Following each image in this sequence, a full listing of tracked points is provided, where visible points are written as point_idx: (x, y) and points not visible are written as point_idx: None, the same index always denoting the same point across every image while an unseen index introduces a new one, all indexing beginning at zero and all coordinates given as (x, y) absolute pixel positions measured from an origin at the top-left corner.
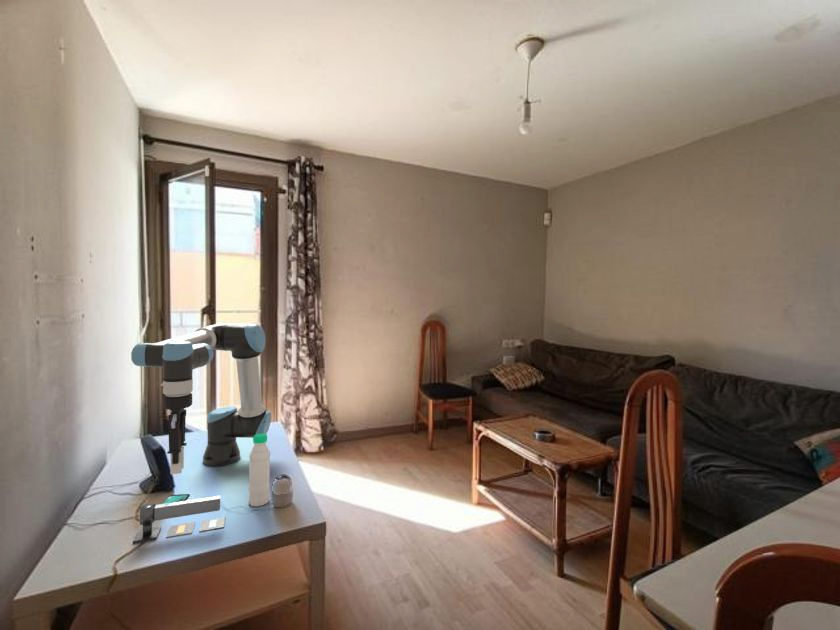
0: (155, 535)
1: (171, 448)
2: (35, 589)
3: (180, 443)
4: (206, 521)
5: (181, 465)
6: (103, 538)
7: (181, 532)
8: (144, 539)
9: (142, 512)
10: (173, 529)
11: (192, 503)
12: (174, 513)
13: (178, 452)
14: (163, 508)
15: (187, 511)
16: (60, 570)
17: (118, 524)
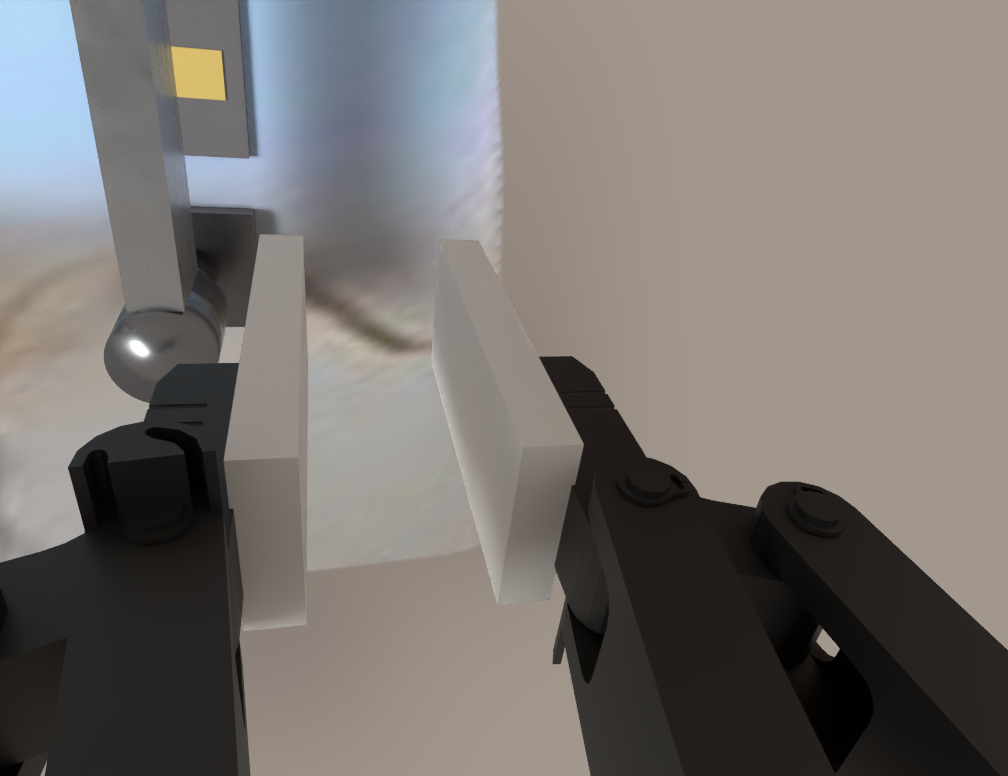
0: (231, 223)
1: (867, 689)
2: (471, 535)
3: (718, 632)
4: None
5: (469, 286)
6: None
7: (220, 64)
8: None
9: None
10: None
11: (145, 8)
12: (178, 150)
13: (820, 495)
14: (179, 247)
15: (164, 45)
16: (383, 513)
17: (17, 437)
